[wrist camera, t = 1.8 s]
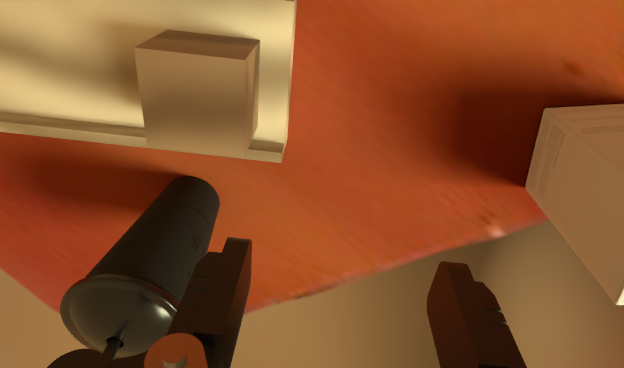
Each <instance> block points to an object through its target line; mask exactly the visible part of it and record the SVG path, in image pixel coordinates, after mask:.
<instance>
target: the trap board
mask: <svg viewBox="0 0 624 368" xmlns="http://www.w3.org/2000/svg"><path fill="white" fill-rule="evenodd" d="M296 6H297V0H0V132H8V133H17V134H26V135H35V136H44V137H53V138H62V139H71V140H80V141H89V142H98V143H107V144H116V145H125V146H134V147H143V148H148V147H147V142H146V134H145V127H144V120H143V112H142V105H141V98H140V90H139V83H138V75H137V68H136V61H135V53H134V47H136V46H138V45H139V44H141V43H143V42H145V41H147V40H149V39H151V38H152V37H154V36H156V35H158V34H160V33H162V32H164V31H165V30H176V31H185V32H194V33H203V34H211V35H220V36H229V37H238V38H247V39H256V40H260V62H259V98H258V126H257V129H256V131H255V134H254V136H253V138H252V141H251V143H250V145H249V148H248V150H247V153H246V155H245V157H244V158H242V159H251V160H260V161H269V162H278V163H281V162H282V158H283V153H284V149H285V145H286V141H287V133H288V118H289V104H290V90H291V76H292V62H293V48H294V34H295V20H296ZM152 149H157V148H152ZM161 150H166V149H161ZM170 151H175V150H170ZM179 152H184V151H179ZM188 153H193V152H188ZM197 154H202V153H197ZM206 155H211V154H206ZM215 156H220V155H215ZM224 157H229V156H224ZM233 158H238V157H233Z"/></svg>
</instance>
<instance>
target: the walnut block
mask: <svg viewBox="0 0 624 368" xmlns="http://www.w3.org/2000/svg"><path fill="white" fill-rule="evenodd" d="M134 53H135V61H136V68H137V75H138V83H139V90H140V98H141V105H142V112H143V120H144V127H145V134H146V142H147V147H148V148H157V149H166V150H175V151H184V152H193V153H202V154H211V155H220V156H229V157H238V158H244V157H245V155H246V153H247V150H248V148H249V145H250V143H251V141H252V138H253V136H254V134H255V131H256V129H257V126H258V98H259V62H260V40H256V39H247V38H238V37H229V36H220V35H211V34H203V33H194V32H185V31H176V30H165V31H164V32H162V33H160V34H158V35H156V36H154V37H152V38H151V39H149V40H147V41H145V42H143V43H141V44H139V45H138V46H136V47H134Z"/></svg>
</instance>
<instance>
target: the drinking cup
mask: <svg viewBox="0 0 624 368" xmlns="http://www.w3.org/2000/svg"><path fill="white" fill-rule="evenodd" d="M219 205H220V202H219V197H218V195H217V193H216V191H215V190H214V188H213V187H212V186H211V185H209V184H208V183H207V182H205V181H203V180H201V179H199V178H195V177H181V178H178V179H175V180H174V181H172V182H171V183H170V184H169V185H168V186H167V188H166V189H165V190H164V191H163V192H162V193H161V194H160V195H159V196H158V197H157V199H156V200H155V201H154V202H153V203H152V204H151V205H150V206H149V207H148V209H147V210H146V211H145V212H144V213H143V214H142V215H141V216H140V217H139V218H138V220H137V221H136V222H135V223H134V224H133V225H132V226H131V227H130V228H129V230H128V231H127V232H126V233H125V234H124V235H123V236H122V237H121V238H120V239H119V241H118V242H117V243H116V244H115V245H114V246H113V247H112V248H111V249H110V250H109V252H108V253H107V254H106V255H105V256H104V257H103V258H102V259H101V260H100V262H99V263H98V264H97V265H96V266H95V267H94V268H93V269H92V270H91V271H90V273H89V274H88V275H87V276H86V277H85V278H83V279H81V280H79V281H78V282H76V283H75V284H73V285H72V286H71V287H70V288H69V289H68V290H67V292H66V293H65V295H64V296H63V298H62V301H61V306H60V313H61V317H62V320H63V322H64V324H65V326H66V328H67V329H68V331H69V332H70V333H71V334H72V335H73V336H74V337H75V338H76V339H77V340H78V341H79V342H80V343H82V344H83V345H85V346H86V347H88V348H89V349H94V350H96V351H99V352H100V353H102V354H103V355H104V356H105V358H106V360H112V359H117V358H122V357H128V356H133V355H137V354H140V353H143V352H145V351H147V350H149V349H150V348H151V347H152V345H153V344H154V343H156V342H157V341H158V340H160V339H161V338H163V337H164V336H165V335H166V333H167V332H168V330H169V327H170V325H171V323H172V320H173V318H174V316H175V313H176V311H177V309H178V306H179V304H180V302H181V299H182V297H183V295H184V292H185V290H186V289H187V285H188V283H189V281H190V278H191V277H192V274H193V271H194V269H195V267H196V264H197V262H198V261H199V260H201V259H202V258H203V257H204V256H205V255H206V254H207V250H208V247H209V243H210V239H211V236H212V232H213V228H214V224H215V221H216V217H217V213H218V210H219Z"/></svg>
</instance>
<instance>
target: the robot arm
mask: <svg viewBox="0 0 624 368" xmlns="http://www.w3.org/2000/svg"><path fill="white" fill-rule="evenodd" d="M251 256H252V241H251V240H250V239H241V238H232V237H228V238H227V240H226V243H225V246H224V248H223V251H222V253H217V252H208V253H207V254H206V255H205V256H204V257H203V258H202V259H201V260H199V261H198V262H197V264H196V267H195V269H194V271H193V274H192V277H191V278H190V281H189V283H188V285H187V289H186V290H185V292H184V295H183V297H182V299H181V302H180V304H179V306H178V309H177V311H176V313H175V316H174V318H173V320H172V323H171V325H170V327H169V330H168V332H167V333H166V335H165V336H164V337H163V338H161V339H160V340H158V341H157V342H156V343H154V344H153V345H152V347H151V348H150V349H149V350H147V351H145V352H143V353H140V354H137V355H133V356H128V357H122V358H117V359H112V360H106V358H105V356H104V355H103V354H102V353H100V352H99V351H96V350H94V349H78V350H74V351H71V352H69V353H66V354H64V355H62V356H60V357H59V358H57V359H56V360H55V361H54V362H52V363H51V364H50V365H49V366H48V367H47V368H230V366H231V362H232V358H233V354H234V350H235V346H236V342H237V338H238V334H239V329H240V326H241V322H242V318H243V314H244V310H245V306H246V302H247V297H248V293H249V288H250V281H251ZM427 314H428V318H429V323H430V327H431V331H432V335H433V339H434V343H435V347H436V351H437V355H438V360H439V364H440V368H527V367H526V365H525V363H524V360H523V358H522V356H521V354H520V352H519V349H518V347H517V345H516V343H515V340H514V338H513V336H512V333H511V331H510V329H509V327H508V325H506V323H507V322H506V320H505V318H504V315H503V313H501V309H500V306H499V304H498V302H497V300H496V297H495V296H494V294H493V293H492V292H491V291H490V290H489V289H488V288H487V287H486V286H485V284H484V283H483V282H475V281H474V279H473V277H472V274H471V272H470V270H469V267H468V265H466V264H463V263H454V262H444V261H442V262H440V264H439V266H438V269H437V271H436V274H435V277H434V280H433V282H432V285H431V288H430V291H429V294H428V297H427Z"/></svg>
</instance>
